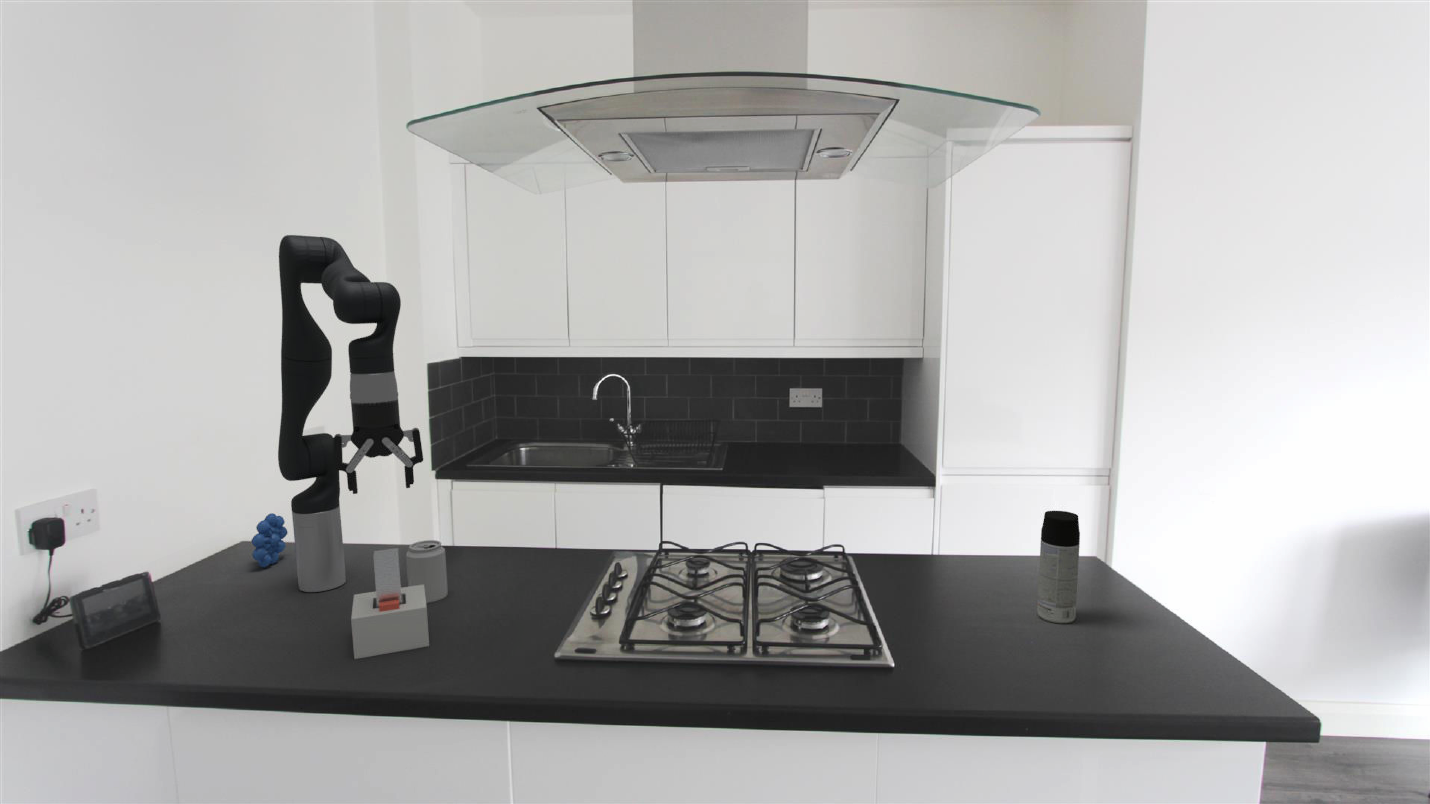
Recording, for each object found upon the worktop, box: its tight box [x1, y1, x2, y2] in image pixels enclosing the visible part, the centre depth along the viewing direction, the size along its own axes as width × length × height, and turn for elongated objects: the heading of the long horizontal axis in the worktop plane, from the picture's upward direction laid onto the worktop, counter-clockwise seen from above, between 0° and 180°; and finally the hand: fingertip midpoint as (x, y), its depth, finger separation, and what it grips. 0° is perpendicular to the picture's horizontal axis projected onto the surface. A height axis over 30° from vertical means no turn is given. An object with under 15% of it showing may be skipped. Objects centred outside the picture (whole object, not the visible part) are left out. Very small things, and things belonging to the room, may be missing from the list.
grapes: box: [250, 513, 289, 568], centre depth 182 cm, size 12×7×12 cm, turn 177°
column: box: [373, 547, 403, 608], centre depth 138 cm, size 4×4×16 cm
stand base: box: [350, 585, 430, 660], centre depth 139 cm, size 14×14×9 cm
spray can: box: [1037, 510, 1081, 624], centre depth 145 cm, size 7×7×20 cm
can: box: [405, 539, 449, 604], centre depth 158 cm, size 8×8×12 cm
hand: (381, 490), depth 135 cm, fingers open, 8 cm apart
